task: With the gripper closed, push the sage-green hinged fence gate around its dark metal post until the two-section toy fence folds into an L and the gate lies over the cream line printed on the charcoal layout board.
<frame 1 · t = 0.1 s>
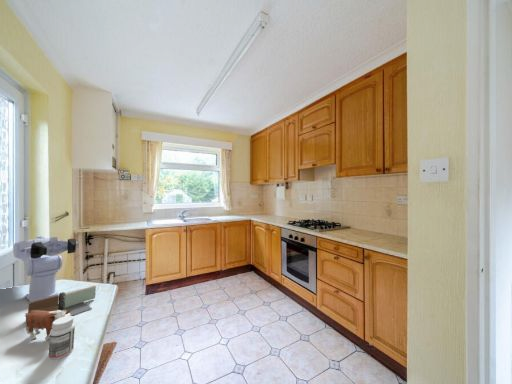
hand: (60, 249, 73), 22 cm above the countertop, tool horizontal, fingers open, 7 cm apart
bull figurine: (47, 338, 58), on the countertop
layout board: (59, 311, 71), on the countertop
pill bottle: (61, 353, 52), on the countertop
fence section: (60, 310, 72), resting on layout board
fence gate: (80, 295, 77), point 3 cm above the countertop, hinge at 0.0°
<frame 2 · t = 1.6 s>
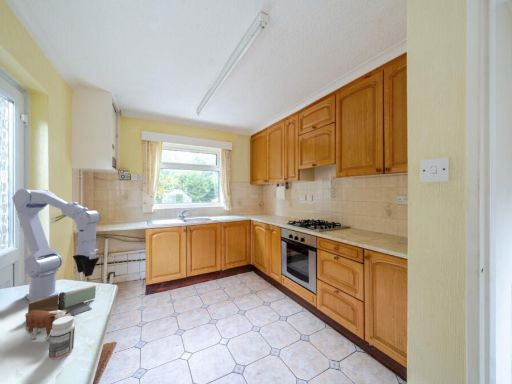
hand: (84, 273, 82), 9 cm above the countertop, tool pointing down, fingers open, 7 cm apart
nothing on the countertop moved.
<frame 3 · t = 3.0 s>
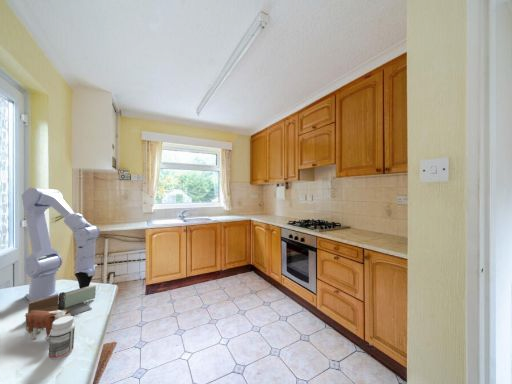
hand: (84, 290, 82), 3 cm above the countertop, tool pointing down, fingers closed
nothing on the countertop moved.
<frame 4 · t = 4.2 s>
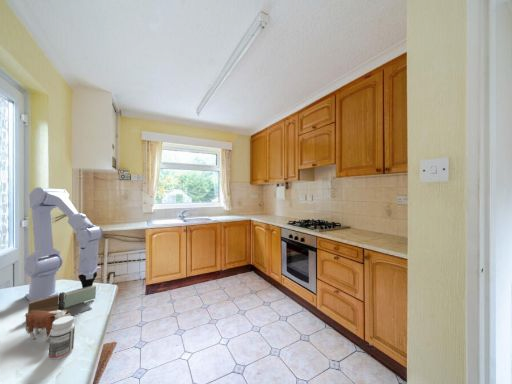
hand: (86, 292, 80), 3 cm above the countertop, tool pointing down, fingers closed
fence gate: (80, 295, 77), point 3 cm above the countertop, hinge at 2.0°, touching gripper
everything else where it was.
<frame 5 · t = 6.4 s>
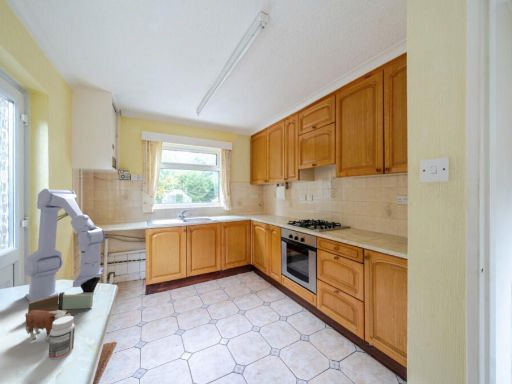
hand: (88, 298, 75), 3 cm above the countertop, tool pointing down, fingers closed
fence gate: (77, 300, 73), point 3 cm above the countertop, hinge at 49.3°, touching gripper
everything else where it was.
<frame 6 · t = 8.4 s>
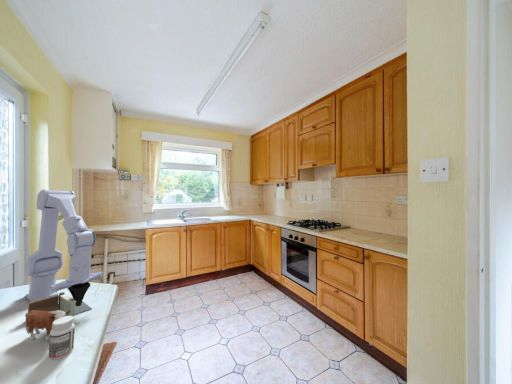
hand: (77, 305, 70), 3 cm above the countertop, tool pointing down, fingers closed
fence gate: (67, 305, 70), point 3 cm above the countertop, hinge at 86.3°, touching gripper
everything else where it was.
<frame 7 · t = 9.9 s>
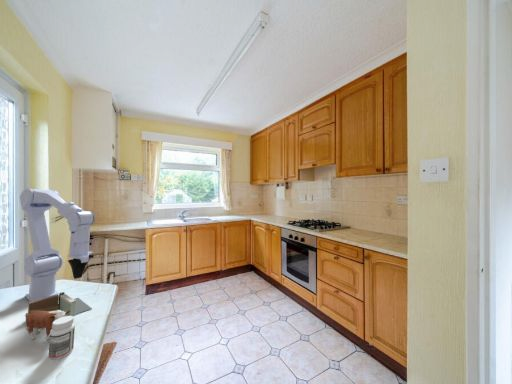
hand: (77, 277, 78), 9 cm above the countertop, tool pointing down, fingers closed
fence gate: (67, 305, 70), point 3 cm above the countertop, hinge at 86.4°
everything else where it was.
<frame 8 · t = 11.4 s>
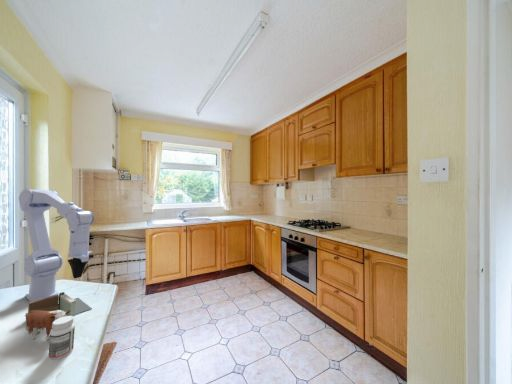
hand: (77, 277, 79), 9 cm above the countertop, tool pointing down, fingers closed
nothing on the countertop moved.
at the end: fence gate at +86° (first picture: +0°); bull figurine moved 0.3 cm from its start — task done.
